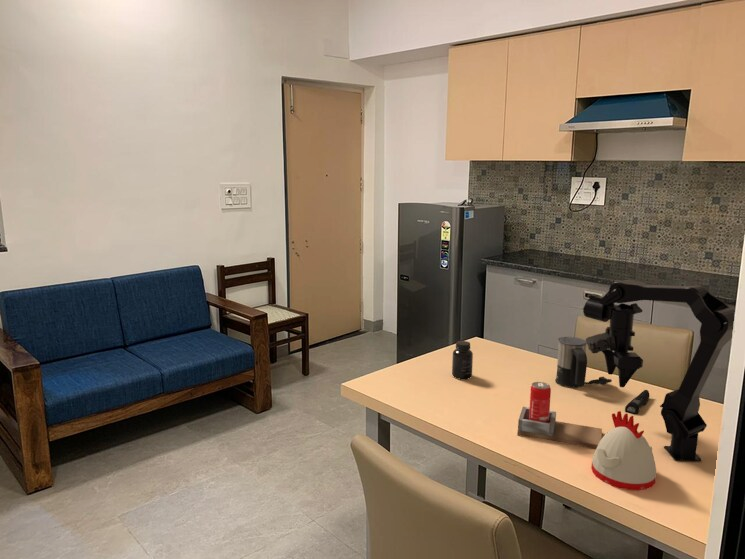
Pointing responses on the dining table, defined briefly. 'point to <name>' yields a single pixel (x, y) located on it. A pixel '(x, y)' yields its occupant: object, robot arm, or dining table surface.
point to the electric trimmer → (637, 403)
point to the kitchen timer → (624, 457)
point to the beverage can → (540, 402)
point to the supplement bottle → (462, 360)
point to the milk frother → (573, 363)
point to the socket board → (558, 431)
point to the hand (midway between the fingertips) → (615, 380)
